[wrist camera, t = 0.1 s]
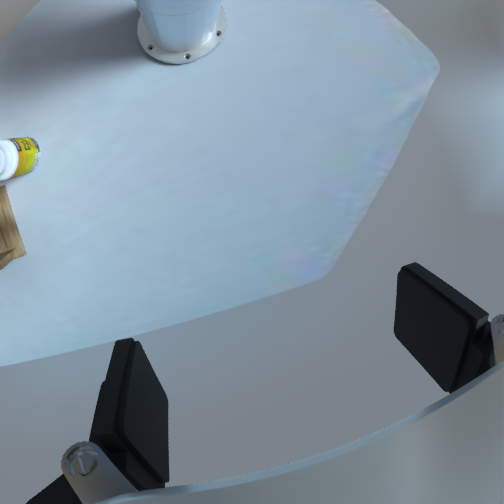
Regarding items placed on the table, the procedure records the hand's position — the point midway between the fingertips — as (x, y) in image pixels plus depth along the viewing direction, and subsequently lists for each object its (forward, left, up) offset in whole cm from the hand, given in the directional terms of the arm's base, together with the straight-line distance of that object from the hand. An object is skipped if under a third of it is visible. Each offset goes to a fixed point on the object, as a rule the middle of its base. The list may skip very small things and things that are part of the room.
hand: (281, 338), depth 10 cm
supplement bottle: (-12, -27, -37) cm, 47 cm away
